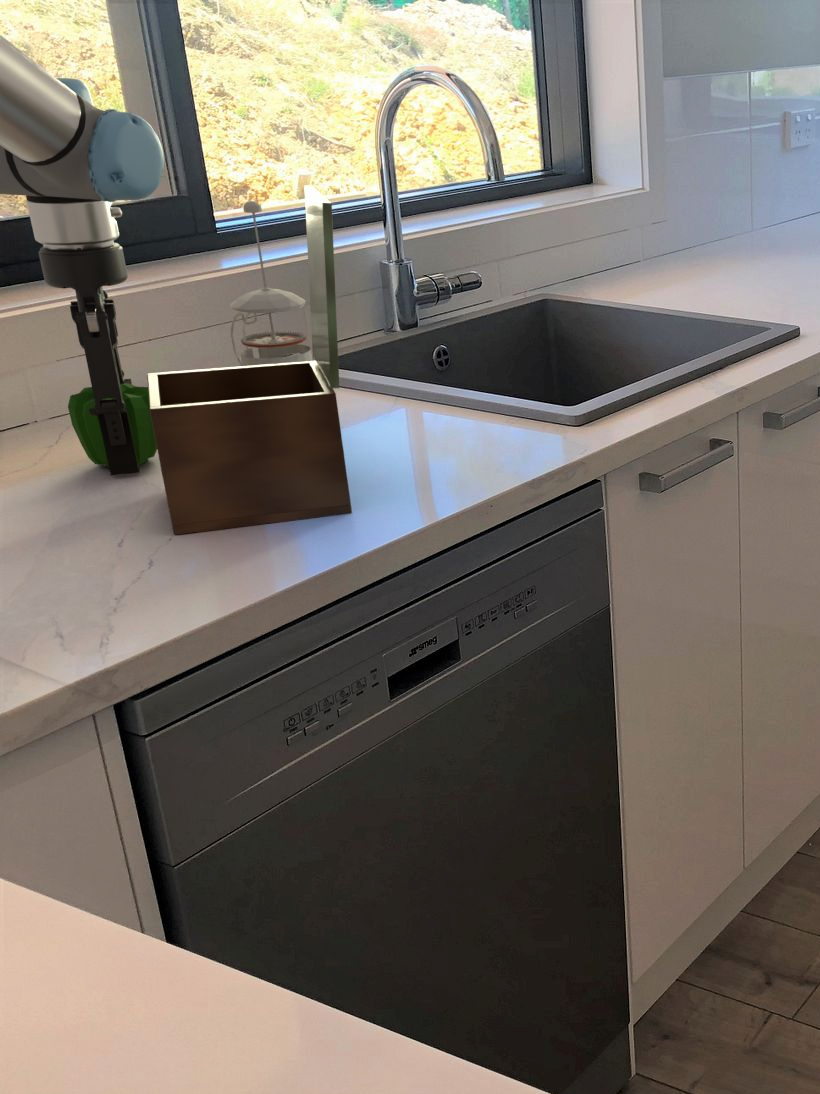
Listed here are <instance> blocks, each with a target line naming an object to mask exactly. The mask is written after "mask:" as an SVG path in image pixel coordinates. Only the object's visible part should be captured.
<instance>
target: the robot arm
mask: <svg viewBox="0 0 820 1094" xmlns="http://www.w3.org/2000/svg"><path fill="white" fill-rule="evenodd" d="M164 169H165V155H164V151H163V146H162V144H161V141H160V139H159V135H158V134H157V132H155V130H154V129H153V127H152V125H150V124H149V122H148V121H146V120H145V119H144V118H142V117H141V116H139V115H137V114H134V113H130V112H127V111H120V110H117V109H115V108H109V109H105V110H103V109H100V108H97V107H96V106H95V105H94V101H93V98H92V94H91V91H90V88H89V87H88V86H87V84H85V82H83V81H82V80H81V79H78V78H69V77H68V78H67V77H56V76H55V75H53V74H52V73H50V72H49V71H48V70H47V69H45V68H44V67H43V66H41V65H40V64H39V63H37V62H36V61H35V60H34V59H33V58H31V57H30V56H29V55H27V54H25V52H23V51H22V50H21V49H19V48H18V47H16V46H15V45H14V44H13V43H12V42H10V41H9V40H8V39H7V38H5V37H4V36H2V35H1V34H0V195H9V196H25V199H26V206H27V211H28V214H29V219H30V223H31V227H32V232H33V237H34V240H35V241H36V243H37V242H38V243H40V244H41V245H42V246H41V247H40V249H39V250H38V257H39V261H40V266H41V270H42V274H43V275H42V276H43V279H44V282H45V283H46V284H47V285H48V286H49V287H52V288H56V289H62V290H63V289H65V290H66V289H72V290H74V291H75V297H76V300H73V301H71V300H70V305H69V309H70V316H71V319H72V321H73V323H74V324H75V327H76V332H77V337H78V343H79V345H80V347H81V348H82V350H84V355H85V359H86V365H87V370H88V374H89V378H90V379H89V380H90V385H91V387H92V390H93V395H94V400H95V404H94V407H95V408H89V412H90V416H92V415H98V419H99V424H100V429H101V433H102V438H103V443H104V447H105V452H106V457H107V461H108V466H109V467H108V470H109V475H110V477H111V476H119V475H129V474H138V473H140V466H138V462H137V457H136V452H135V447H134V442H133V437H132V433H131V428H130V423H129V418H128V413H127V410H125V409H126V405H125V404H124V402H123V397H122V392H121V386H120V385H121V384H126V383H129V384H132V385H133V382H132V378H124V376H125V370H123V369H122V368H123V367H122V364H121V358H120V355H119V354H120V353H119V350H118V349H119V348H118V345H119V340H118V336H119V333H118V327H117V321H116V320H117V312H116V311H117V310H116V305H115V301H114V298H109V295H108V292H107V291H106V289H103V288H104V287H111V286H116V285H117V286H118V285H119V284H123V283H124V282H126V281H127V280H128V277H129V276H128V268H127V266H126V265H127V264H126V259H125V254H124V249H123V246H121V245H120V244H119V243H118V242H114V241H115V240H117V239H118V238H119V237H120V232H119V227H118V222H117V220H116V219H115V218H121V217H122V216H123V211H122V210H121V207H119V206H114V207H113V206H112V205H113V203H114V202H116V201H119V202H120V201H140V200H143V199H146V198H147V197H150V196H151V195H152V194H154V192H156V190H157V189H158V188H159V185H160V184H161V179H162V177H163V172H164ZM106 398H115V399H111V400H102V399H106Z"/></svg>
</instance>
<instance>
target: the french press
mask: <svg viewBox="0 0 820 1094" xmlns="http://www.w3.org/2000/svg"><path fill="white" fill-rule="evenodd" d="M242 209H243V212H244V213H248V214H252V220H253V225H254V232H255V239H256V244H257V251H258V257H259V262H260V268H261V269H260V270H261V275H262V280H263V281H262V282H263V287H260V289H257V290H253V291H249V292H248V291H247V292H246V293H245V294H243V295H241V296H239V297H237V298H236V299H235V300H233V302H231V303H230V308H231V309H233V310H234V311H236V312H238V313H237V314H236V315H234V317H233V319H232V320H231V324H230V339H231V343H232V350H233V351H234V354H235V357H236V359H237V362H238V363H239V365H240V366H252V365H265V364H278V363H291V362H304V361H314V360H313V359H314V358H313V352H312V348H311V346H308V345H306V344H301V343H304V342H305V341H306V340H307V335H306V334H305V333H302V332H299V331H289V330H288V331H286V330H285V332H284V331H278V330H276V331H275V329H274V323H273V318H272V314H275V313H277V314H278V313H283V312H291V311H295V310H299V309H302V308H304V307H305V305H306V300H305V299H304V298H302V297H301V296H299V295H297V294H295V293H293V292H291V291H288V290H283V289H280V288H272V287H268V286H267V282H266V281H267V280H266V276H265V275H266V274H265V268H264V263H263V262H264V261H263V256H262V251H261V244H260V238H259V232H258V231H259V230H258V226H257V220H256V213H262V212H263V209H262V206H261V205H260V203H259V202H257V201H253V200H250V201H247V202H246V203H244V205H243V208H242ZM244 313H246V315H244ZM251 314H253V316H254V320H253V321H247V320H248V318H249V316H250V315H251ZM257 314H268V318H269V324H270V332H269V331H267V332H266V331H264V332H256V333H252V334H251V333H250V334H248V335H247V334H246V333H247V332H246V327H247V326H246V325H248V326H249V325H253V324H255V323H256V322H257V320H258V318H257V316H258V315H257ZM240 316H241V319H242V322H243V326H242V335H243V337H242V338H241V339H240V343H241V345H243V346H244V347H245V349H244V350H242V351H240V354H239V355H238V351H237V347H236V345H235V339H234V327H235V322H236V320H237V319H238V317H240ZM253 348H257V350H258V357H254V351H253ZM292 354H296V355H292ZM288 355H290V356H288Z"/></svg>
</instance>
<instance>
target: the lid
mask: <svg viewBox="0 0 820 1094" xmlns="http://www.w3.org/2000/svg"><path fill="white" fill-rule="evenodd" d="M304 205H305V206H304V207H305V226H306V227H305V228H306V243H307V244H306V245H307V247H306V249H307V264H308V267H307V268H308V284H309V285H308V286H309V287H308V288H309V307H310V327H311V328H310V329H311V347H312V348H311V351H312V358H313V359H314V361H316V362H317V364H318V366H319V368H320V369H321V371H322V373H323V375H324V377H325V378H326V380H327V382H328V384H329V386H330V388H333V389H340V368H339V346H338V343H339V342H338V323H337V322H338V321H337V320H338V319H337V297H336V276H335V275H336V274H335V271H336V270H335V253H334V252H335V247H334V227H333V226H334V225H333V223H334V222H333V206H332V205H333V204H332V202H331V201H329V199H327V198H326V196H324V195H323V194H322V193H321V192H320V190H318V189H316V187H315V186H313V185H307V184H305V185H304Z"/></svg>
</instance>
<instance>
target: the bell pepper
mask: <svg viewBox="0 0 820 1094" xmlns="http://www.w3.org/2000/svg"><path fill="white" fill-rule="evenodd" d="M120 386H121V392H122V397H123V402H124V404H125V405H126V409H125V410H127V413H128V418H129V423H130V428H131V433H132V437H133V442H134V447H135V452H136V457H137V462H138V467H140V466H142V465H143V464H145V463H147V462H148V461H149V459H151V458H153V457H155V455H156V453H157V452H158V450H157V445H156V440H155V435H154V429H153V424H152V419H151V414H150V406H149V392H148V386H136V385H134V384H133V383H132V384H129V383H126V384H121V385H120ZM111 399H115V398H106V399H102V400H111ZM94 404H95V400H94V395H93V390H92V386H89V387H87V386H86V387H83V388H82V389H81V391H79V392H78V393H75V394H72V395H71V394H70V396H69V400H68V404H67V410H68V414H69V418H70V422H71V426H72V428H73V430H74V432H75V434H76V436H77V438H78V440H79V443H80V444H81V445H80V446H81V447H82V449H83V450H84V452H85V454H86V456H87V458H88V459H89V460H90V461H91V462H92V463H93V464H94V465H98V466H104V467H108V468H109V466H108V461H107V457H106V452H105V447H104V443H103V438H102V433H101V429H100V424H99V419H98V415H92V416H90V412H89V408H95V407H94Z"/></svg>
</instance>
